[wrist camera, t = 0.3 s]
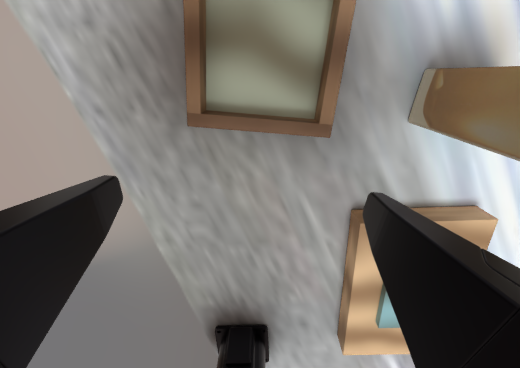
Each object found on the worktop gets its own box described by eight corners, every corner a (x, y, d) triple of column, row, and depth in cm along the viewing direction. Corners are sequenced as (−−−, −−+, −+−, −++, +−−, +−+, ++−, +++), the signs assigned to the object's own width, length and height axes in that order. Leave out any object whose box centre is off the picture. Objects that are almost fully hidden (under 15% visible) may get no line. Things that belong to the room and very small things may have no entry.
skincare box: (499, 75, 20) (798, 76, 9) (476, 130, 22) (702, 189, 11) (420, 66, 20) (622, 57, 9) (402, 123, 22) (553, 175, 10)
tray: (323, 131, 22) (330, 137, 20) (195, 120, 22) (187, 126, 19) (351, -28, 18) (364, -43, 15) (192, -43, 17) (181, -60, 15)
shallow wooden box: (434, 333, 32) (452, 360, 29) (337, 334, 32) (345, 362, 29) (476, 205, 25) (506, 224, 22) (351, 209, 25) (363, 228, 22)
